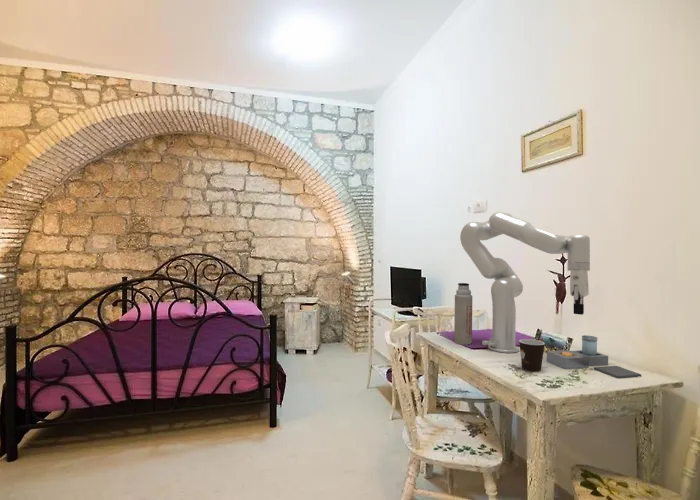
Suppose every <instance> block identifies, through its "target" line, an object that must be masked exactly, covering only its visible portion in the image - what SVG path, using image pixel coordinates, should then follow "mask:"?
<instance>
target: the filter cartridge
mask: <svg viewBox="0 0 700 500" xmlns="http://www.w3.org/2000/svg"><path fill="white" fill-rule="evenodd" d="M581 350H582V354H584V355H587V356H597V352H598V337H597V336H594V335H585V334H584V335H581Z"/></svg>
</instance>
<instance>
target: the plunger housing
mask: <svg viewBox="0 0 700 500" xmlns="http://www.w3.org/2000/svg"><path fill="white" fill-rule="evenodd" d="M566 350H568V351H566ZM573 351H574V350H569V349H565V350H561V349H560V350H549V351H548V350H546V362H547V363H550V364H552V365H554V366H557V367H559V368H562V369H565V370H573V369H574V370H575V369H588V368H589V366H588V361H589V357H587V356H584V355H581V354H578V353H575V352H573ZM562 352H570V353H572V356H565V355H562Z"/></svg>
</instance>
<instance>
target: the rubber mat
mask: <svg viewBox="0 0 700 500" xmlns="http://www.w3.org/2000/svg"><path fill="white" fill-rule="evenodd" d="M593 370H594V371H597V372H600V373H602V374H606V375H608V376H610V377H613V378H615V379H629V378H639V377H638V376H641V377H642V374H641V373H639V372H636V371H633V370H630V369H627V368H624V367H622V366H619V365H609V366H608V365H603V366H593Z"/></svg>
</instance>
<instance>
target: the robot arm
mask: <svg viewBox="0 0 700 500" xmlns="http://www.w3.org/2000/svg"><path fill="white" fill-rule="evenodd" d="M459 235H460V236H459V237H460V238H459V239H460V240H459V241H460V244H461V246H462V249H464V251H465V253H466V254H467V255H468V257H469V258H470V260H471V261H472V262H473V264H474V265H475V267H476V268H477V270H478V271H479V273H480V274H481V275H482V276H483V277H484V278H485V279H488V280H491V279H492V280H494V282H493V283H492V284H491V287H490V295H491V296H490V297H491V301H492V309H491V310H492V319H491V320H492V323H491V324H492V328H491V329H492V332H491V337H489V339H488V340H481V344H482V346H488V347H487V348H488V349H489V350H491V351H494V352H498V353H506V354H510V353H511V354H512V353H514V354H515V353H517V352H520V347H519V346H518V345H517V346H516V328H517V327H516V319H517V317H516V315H517V313H516V312H517V311H516V302H515V298H517V297H519V296H521V294H522V293H523V291H524V284H523V282H522V280H521V279H520V278H519V276H518V275H517V274H516V273H515V271H514V270H513V268H512V267H511V266H510V264H509V263H508V262H507V261H506V260H504V259H503V258H499V257H494V256H493V255H492V254H491V252H490V250H489V249H488V248H487V247H486V245H484V244H483V243H482V241H487V240H491V239H493V238H496V237H499V236H502V235H505V236H507V237H509V238H512V239H515V240H517V241H519V242H521V243H523V244H525V245H528V246H530V247H531V248H534V249H537V250H539V251H541V252H544V253H547V254H551V255H555V254H556V255H560V254H561V255H562V254H567V271H570V272H569V273H570V277H569V281H570V282H569V291H570V296H571V297H573V314H574V315H581V316H583V315H584V313H585V308H584V307H585V303H584V299H585V298H584V297H587V296H588V295H590V291H589V273H588V272H590V270H591V249H590V248H591V242H590V241H591V240H590V236H588V235H587V234H584V235H583V234H575V235H573V234H572V235H569V236H568V235H567V236H566V235H559V234H554V233H553V234H552V233H550V232H547V231H544V230H541V229H539V228H537V227H535V226H534V225H532V223H531V222H529V221H526V220H523V219H520V218H517V217H515V216H513V215H512V214H511V213H506V212H502V211H498V212H494V213H492V214H491V216H490V217H489V219H488V220H487V221H485V222H479V221H471V222H468V223H466V224H465V225H464V226H463V227H462V229H461V232H460V234H459Z"/></svg>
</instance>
